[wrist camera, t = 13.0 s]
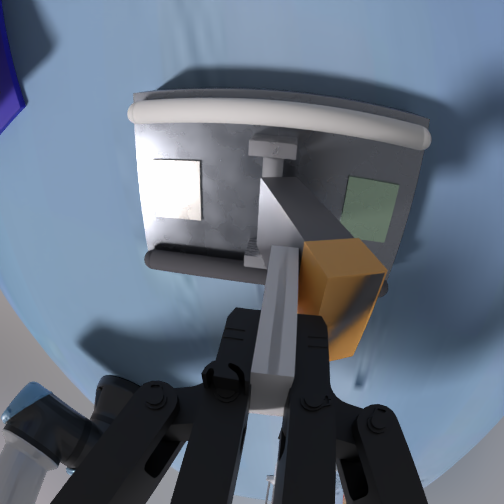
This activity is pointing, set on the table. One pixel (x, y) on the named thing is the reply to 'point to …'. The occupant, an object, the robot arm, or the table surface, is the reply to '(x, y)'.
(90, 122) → the table surface
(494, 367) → the table surface
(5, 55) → the stapler
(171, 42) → the table surface
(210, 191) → the breaker panel
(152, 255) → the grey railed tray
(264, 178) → the lever
